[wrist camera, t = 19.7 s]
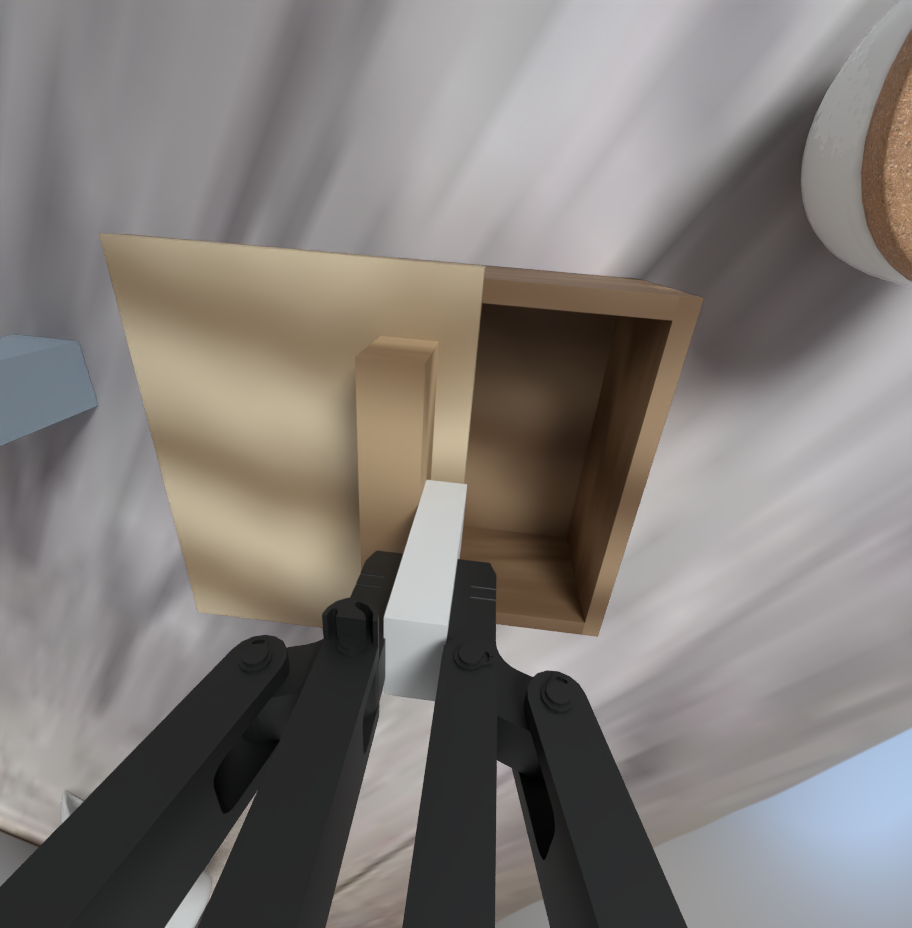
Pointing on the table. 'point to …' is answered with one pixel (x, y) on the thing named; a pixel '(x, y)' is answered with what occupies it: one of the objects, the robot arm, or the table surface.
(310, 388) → the lid
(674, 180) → the table surface
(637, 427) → the toolbox
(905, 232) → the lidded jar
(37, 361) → the blue-grey block
